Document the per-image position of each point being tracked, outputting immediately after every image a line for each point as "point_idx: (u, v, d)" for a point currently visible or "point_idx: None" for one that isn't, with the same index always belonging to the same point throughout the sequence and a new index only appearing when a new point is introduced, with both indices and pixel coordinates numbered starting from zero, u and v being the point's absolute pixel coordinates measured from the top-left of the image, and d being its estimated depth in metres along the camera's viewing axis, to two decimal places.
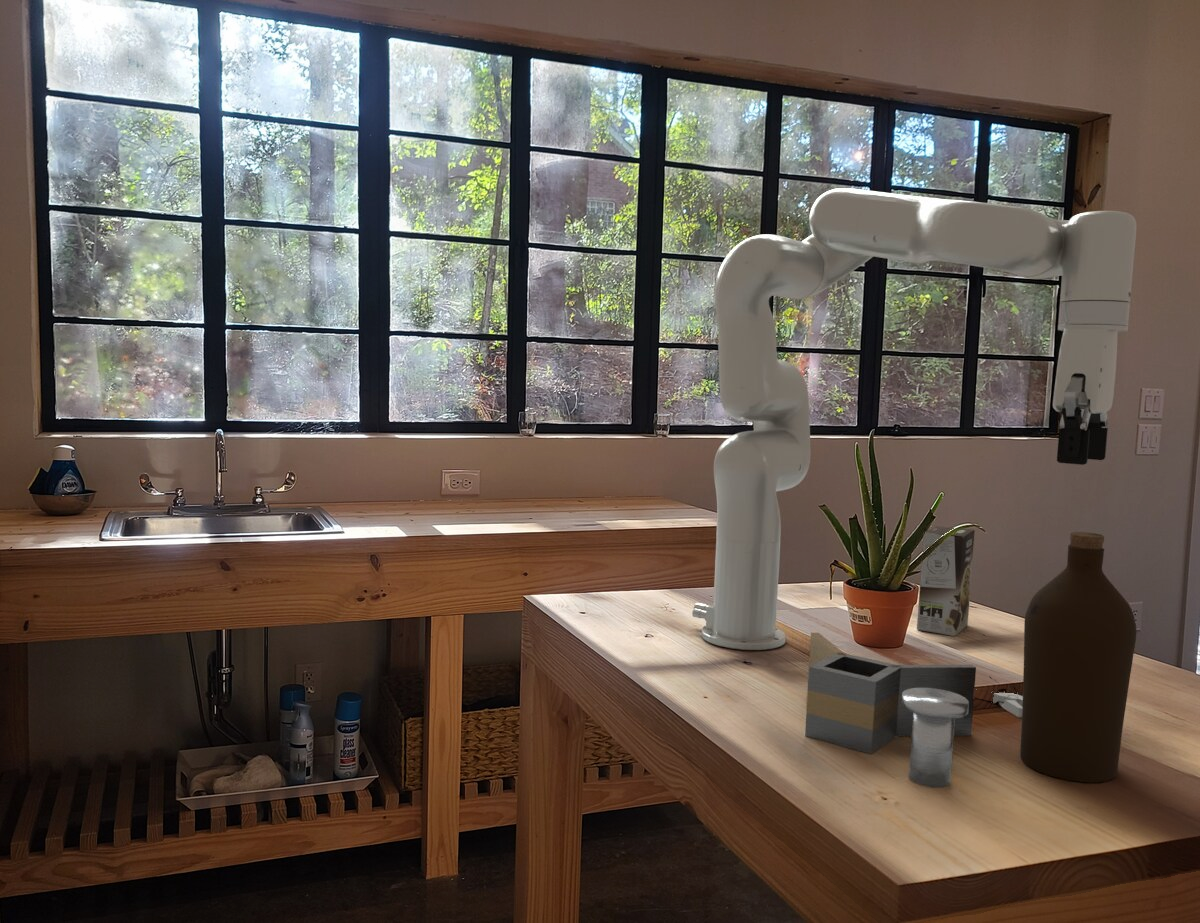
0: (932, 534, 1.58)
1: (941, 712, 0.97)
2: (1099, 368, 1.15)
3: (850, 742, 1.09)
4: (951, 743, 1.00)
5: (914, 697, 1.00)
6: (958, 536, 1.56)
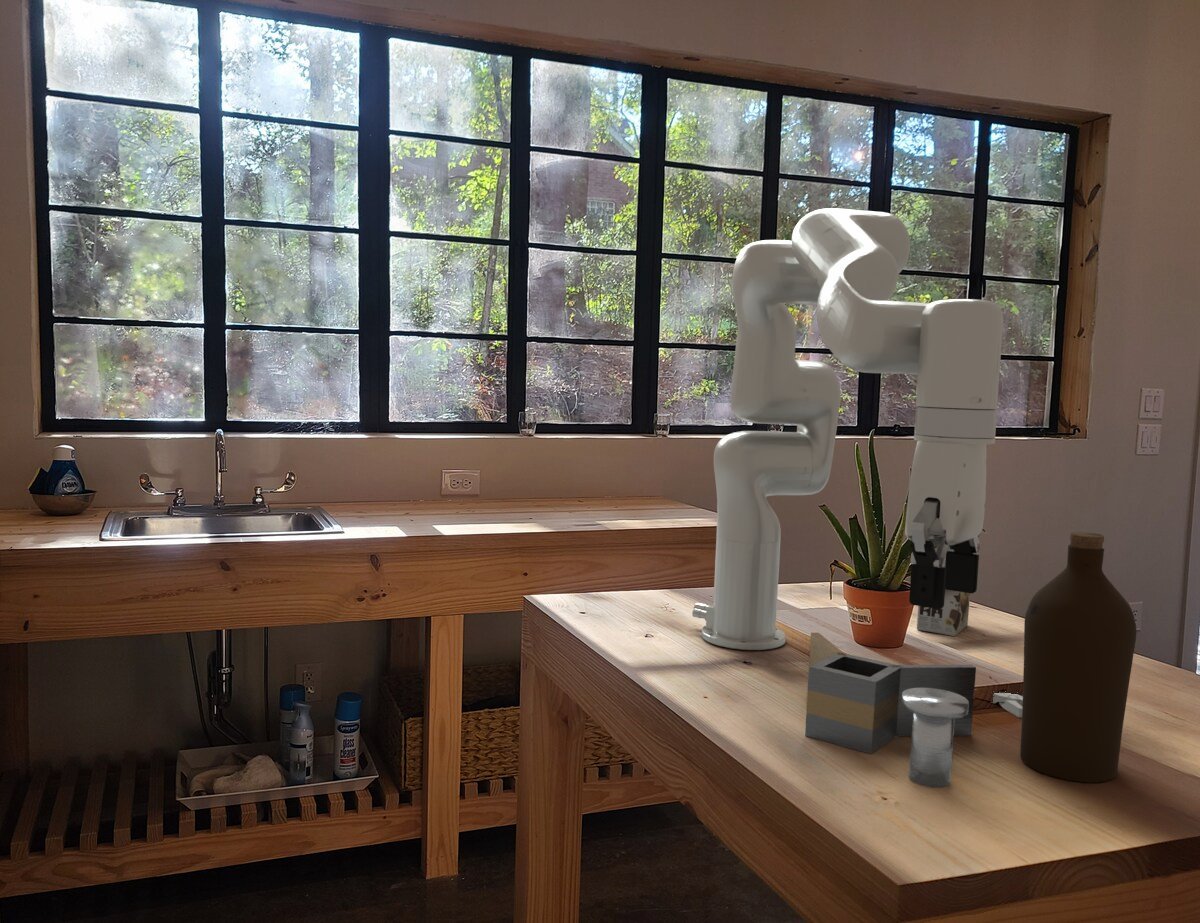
0: None
1: (941, 712, 0.97)
2: (956, 492, 0.94)
3: (850, 742, 1.09)
4: (951, 743, 1.00)
5: (914, 697, 1.00)
6: None
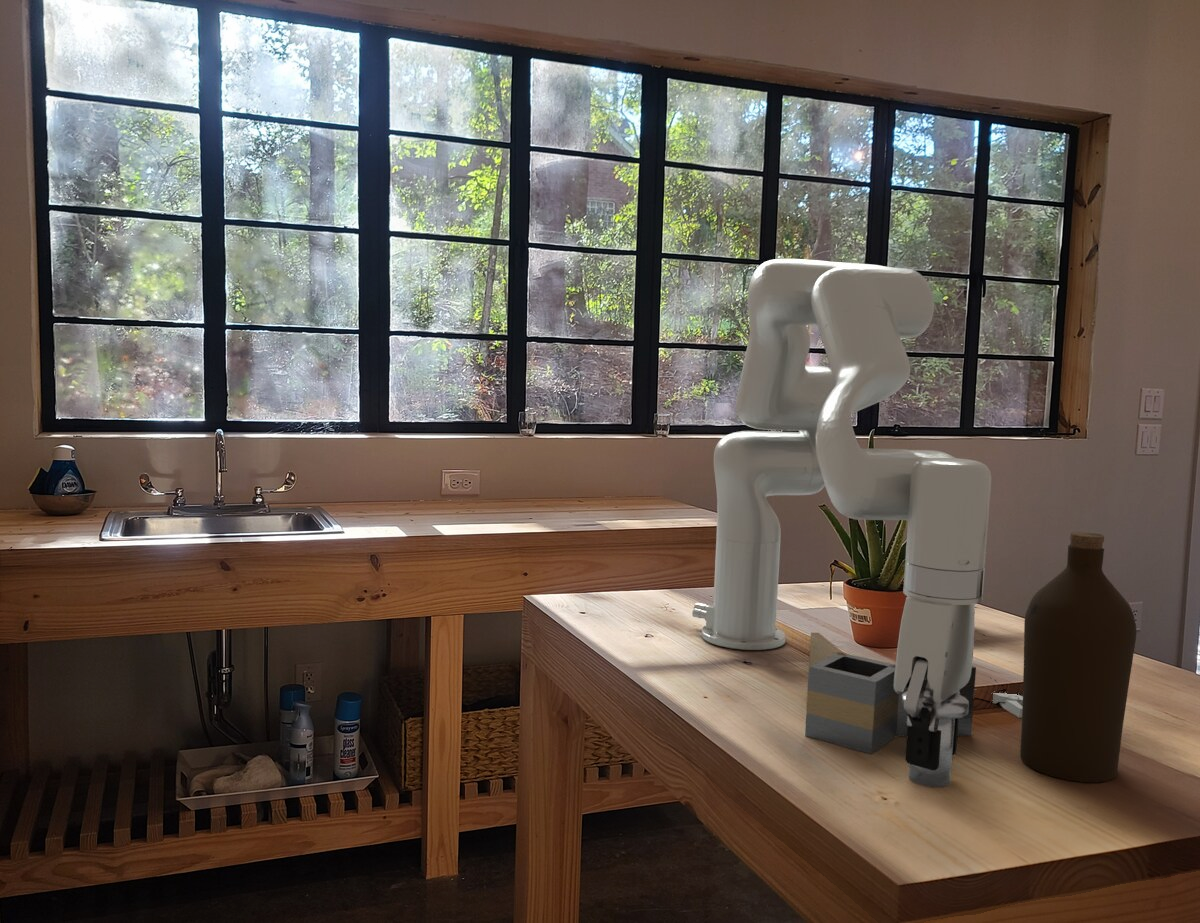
0: None
1: (941, 712, 0.97)
2: (944, 653, 0.95)
3: (850, 742, 1.09)
4: (951, 743, 1.00)
5: None
6: None
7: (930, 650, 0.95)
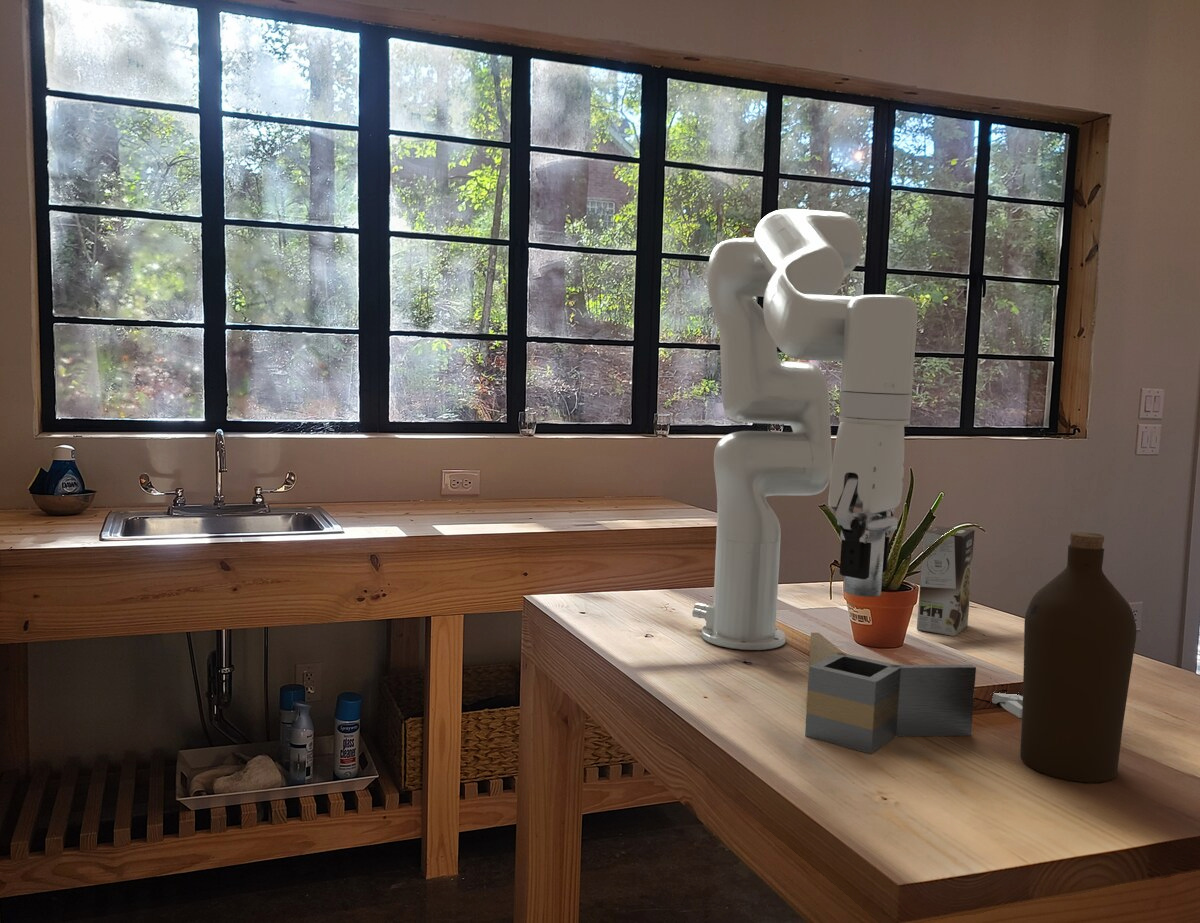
0: (932, 534, 1.58)
1: (871, 525, 1.07)
2: (872, 468, 1.05)
3: (850, 742, 1.09)
4: (881, 557, 1.09)
5: None
6: (958, 536, 1.56)
7: (860, 465, 1.05)
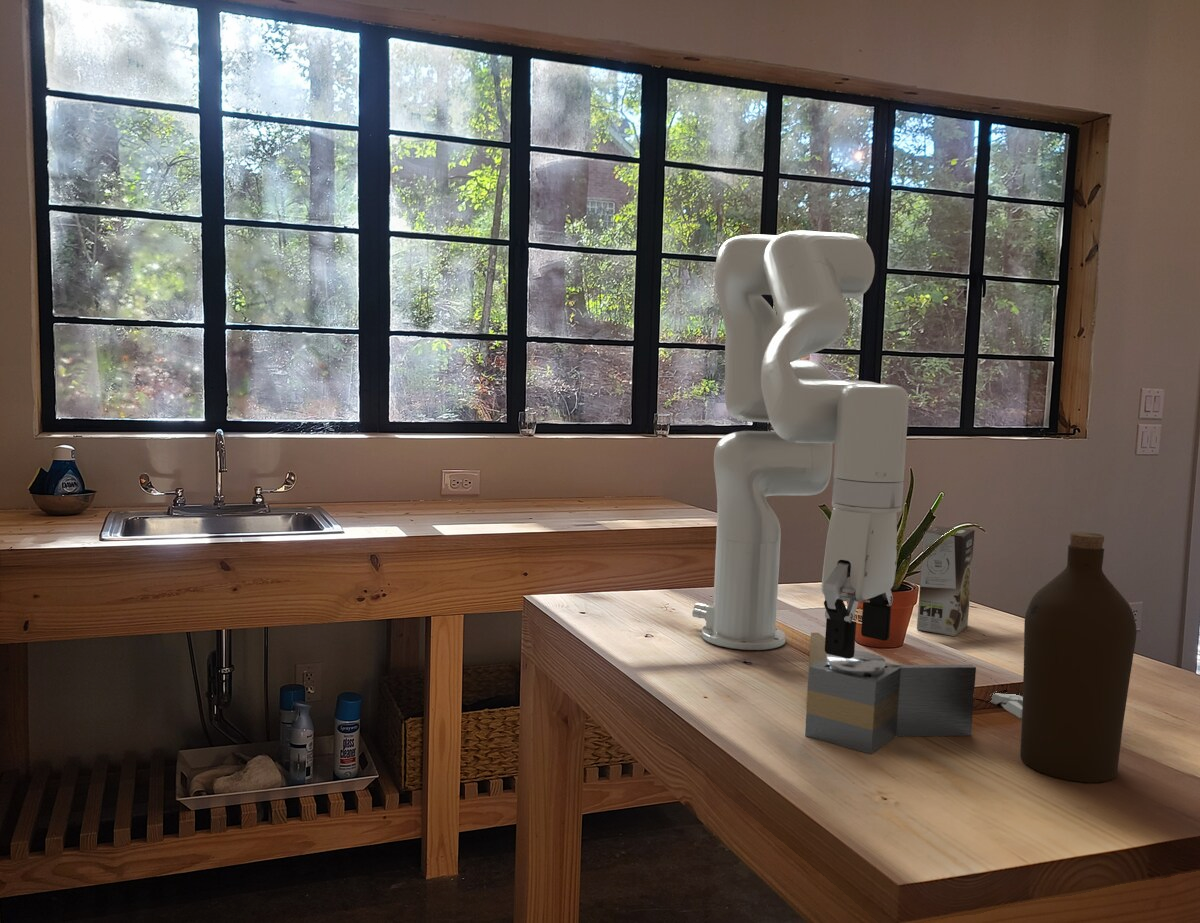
0: (932, 534, 1.58)
1: (859, 669, 1.09)
2: (865, 556, 1.06)
3: (850, 742, 1.09)
4: None
5: (836, 657, 1.12)
6: (958, 536, 1.56)
7: (852, 553, 1.06)
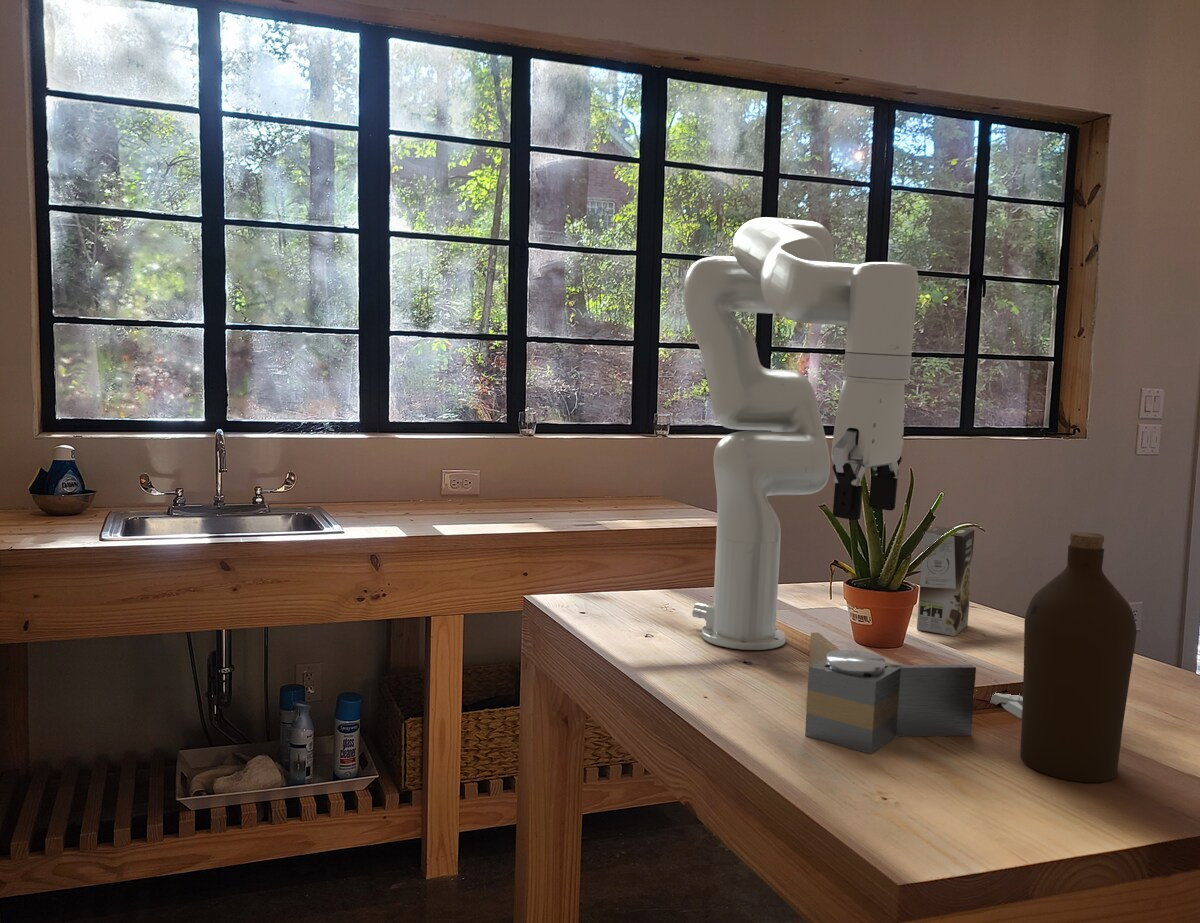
0: (932, 534, 1.58)
1: (859, 669, 1.09)
2: (872, 423, 1.13)
3: (850, 742, 1.09)
4: None
5: (836, 657, 1.12)
6: (958, 536, 1.56)
7: (861, 421, 1.13)
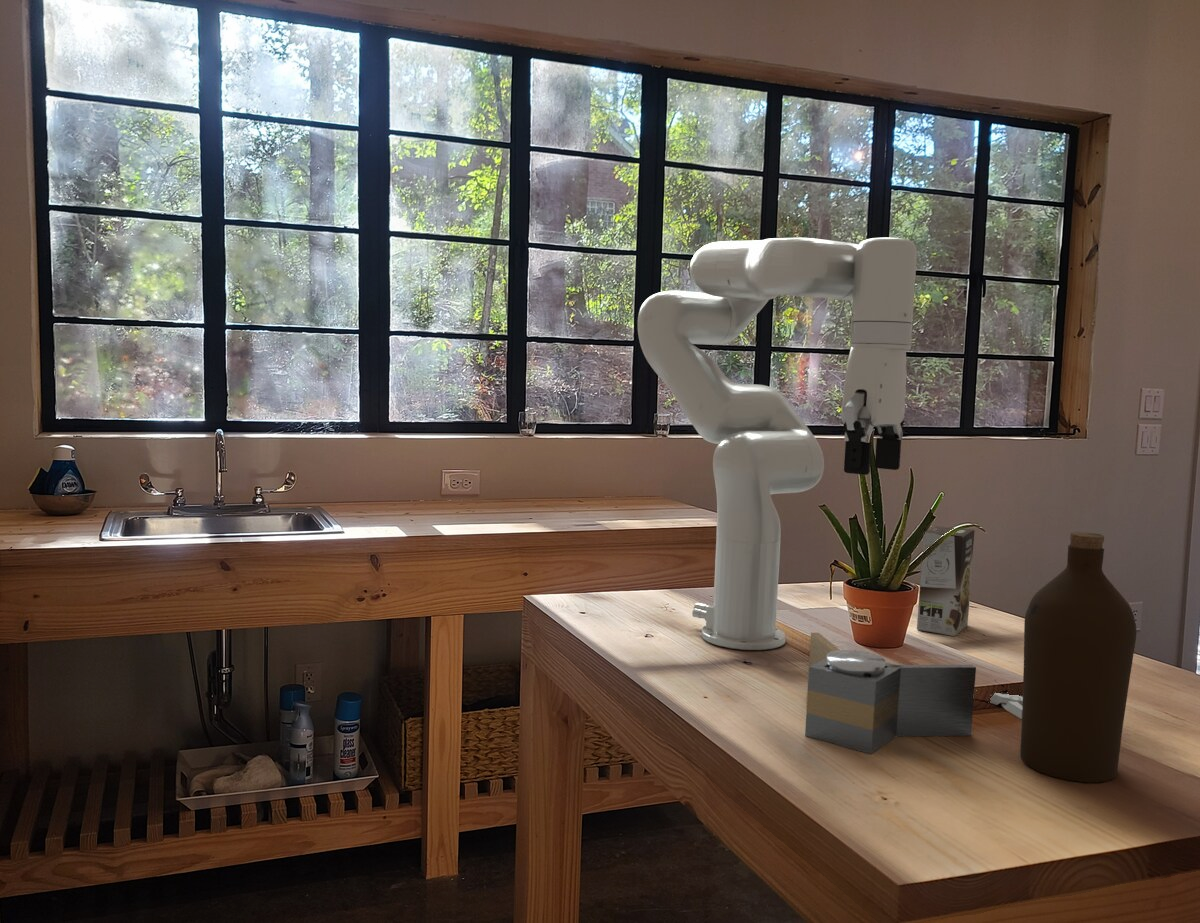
0: (932, 534, 1.58)
1: (859, 669, 1.09)
2: (879, 384, 1.23)
3: (850, 742, 1.09)
4: None
5: (836, 657, 1.12)
6: (958, 536, 1.56)
7: (868, 383, 1.23)
